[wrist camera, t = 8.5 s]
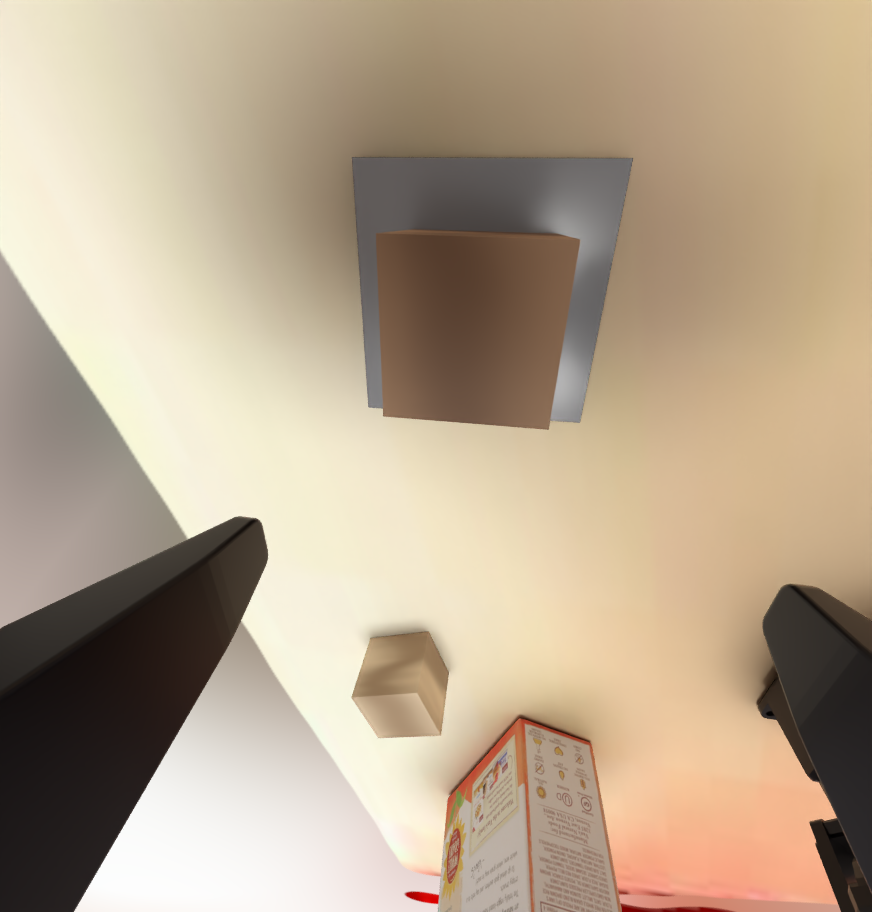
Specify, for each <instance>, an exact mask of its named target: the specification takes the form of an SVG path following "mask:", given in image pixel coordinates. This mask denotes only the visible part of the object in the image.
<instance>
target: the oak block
mask: <svg viewBox="0 0 872 912" xmlns="http://www.w3.org/2000/svg"><path fill="white" fill-rule="evenodd" d="M448 675H449V672H448V670H447V668H446V666H445V664H444V662H443V660H442V658H441V656H440V654H439V652H438V650H437V648H436V646H435V644H434V641H433V639H432V637H431V635H430V633H429V631H428V632H420V633H411V634H402V635H394V636H385V637H376V638H370V641H369V645H368V648H367V651H366V654H365V657H364V660H363V663H362V666H361V669H360V672H359V676H358V679H357V682H356V685H355V688H354V691H353V694H352V697H351V698H352V699H353V701H354V702H355V704H356V705H357V707H358V708H359V710H360V711H361V713H362V714H363V716H364V717H365V719H366V720H367V722H368V723H369V725H370V726H371V728H372V729H373V731H374V732H375V734H376V735H377V737H378V738H392V737H416V736H441V731H442V723H443V715H444V707H445V699H446V691H447V683H448Z"/></svg>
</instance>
